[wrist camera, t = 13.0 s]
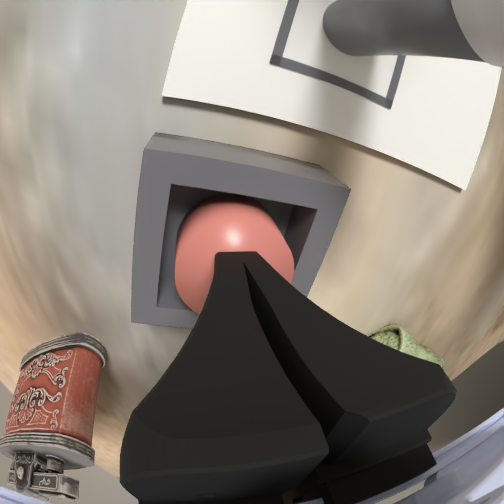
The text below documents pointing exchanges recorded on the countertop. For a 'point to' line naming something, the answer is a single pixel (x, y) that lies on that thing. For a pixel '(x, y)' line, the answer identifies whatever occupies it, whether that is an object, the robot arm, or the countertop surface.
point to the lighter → (53, 416)
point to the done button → (224, 242)
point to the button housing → (217, 183)
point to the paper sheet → (333, 83)
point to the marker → (418, 28)
